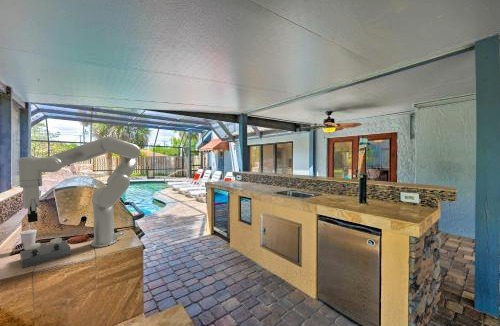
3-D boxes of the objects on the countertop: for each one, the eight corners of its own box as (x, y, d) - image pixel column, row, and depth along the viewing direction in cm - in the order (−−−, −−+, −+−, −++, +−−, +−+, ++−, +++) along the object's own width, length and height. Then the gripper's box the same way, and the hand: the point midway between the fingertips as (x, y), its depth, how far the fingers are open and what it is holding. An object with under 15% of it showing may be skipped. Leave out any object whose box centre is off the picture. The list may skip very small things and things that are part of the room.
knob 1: (40, 251, 109) (39, 242, 109) (41, 253, 106) (41, 244, 106) (27, 254, 106) (27, 244, 105) (28, 257, 103) (28, 247, 103)
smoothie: (27, 252, 114) (25, 226, 113) (17, 251, 115) (16, 225, 114) (41, 247, 120) (39, 222, 119) (31, 246, 121) (30, 221, 120)
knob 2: (61, 245, 115) (61, 237, 115) (63, 248, 112) (62, 239, 112) (50, 248, 112) (49, 239, 112) (51, 251, 109) (51, 242, 109)
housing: (65, 247, 120) (65, 240, 119) (70, 254, 112) (70, 247, 111) (20, 259, 107) (20, 251, 106) (22, 268, 99) (22, 259, 99)
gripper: (18, 182, 106) (20, 220, 107) (21, 186, 96) (23, 227, 97) (39, 181, 112) (41, 216, 113) (44, 184, 102) (46, 223, 103)
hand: (32, 221), depth 105 cm, fingers closed
